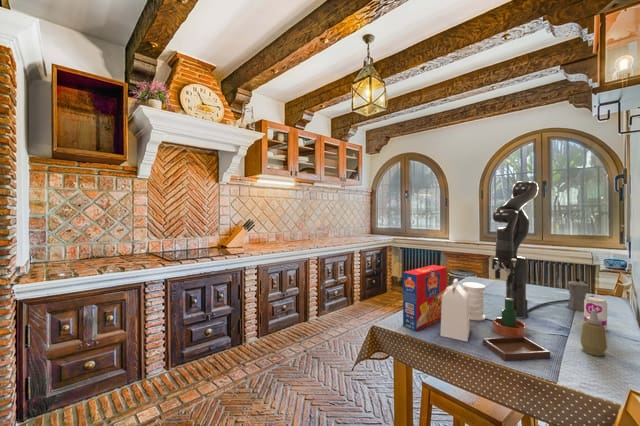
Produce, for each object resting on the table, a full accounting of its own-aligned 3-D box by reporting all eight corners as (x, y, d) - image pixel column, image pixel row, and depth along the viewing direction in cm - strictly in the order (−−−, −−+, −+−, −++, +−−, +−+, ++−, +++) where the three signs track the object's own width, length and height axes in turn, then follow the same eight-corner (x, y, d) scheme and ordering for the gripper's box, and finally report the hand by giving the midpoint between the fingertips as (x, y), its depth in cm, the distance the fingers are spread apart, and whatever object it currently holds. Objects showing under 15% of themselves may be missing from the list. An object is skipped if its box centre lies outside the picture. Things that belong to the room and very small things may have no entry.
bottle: (509, 328, 141) (510, 296, 141) (519, 334, 135) (519, 300, 135) (498, 329, 141) (498, 297, 140) (507, 334, 135) (507, 301, 135)
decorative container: (488, 322, 151) (489, 288, 150) (465, 320, 153) (465, 287, 153) (480, 314, 162) (481, 282, 162) (459, 312, 165) (459, 281, 164)
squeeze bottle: (574, 348, 123) (575, 307, 122) (592, 347, 124) (592, 306, 123) (594, 358, 115) (595, 314, 114) (612, 357, 115) (613, 313, 115)
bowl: (511, 326, 145) (511, 316, 145) (532, 338, 132) (532, 327, 132) (486, 327, 144) (486, 317, 144) (505, 339, 131) (506, 329, 131)
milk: (467, 341, 130) (467, 285, 129) (440, 335, 136) (440, 281, 135) (469, 331, 140) (470, 279, 139) (444, 326, 146) (444, 276, 145)
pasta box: (416, 331, 141) (416, 275, 140) (403, 325, 147) (403, 272, 147) (446, 317, 158) (446, 267, 157) (433, 312, 164) (433, 264, 164)
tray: (523, 341, 129) (523, 336, 129) (550, 358, 115) (550, 351, 115) (482, 344, 127) (482, 338, 127) (504, 360, 114) (504, 354, 114)
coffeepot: (580, 313, 162) (581, 281, 162) (561, 307, 171) (562, 277, 171) (595, 309, 168) (596, 278, 168) (576, 303, 177) (576, 275, 177)
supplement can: (602, 333, 137) (603, 302, 136) (580, 327, 144) (581, 297, 144) (609, 330, 140) (610, 299, 140) (588, 323, 148) (588, 295, 147)
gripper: (522, 250, 136) (521, 284, 137) (501, 246, 151) (500, 277, 151) (507, 251, 136) (506, 284, 136) (487, 246, 150) (487, 277, 150)
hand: (503, 280), depth 144 cm, fingers open, 8 cm apart
